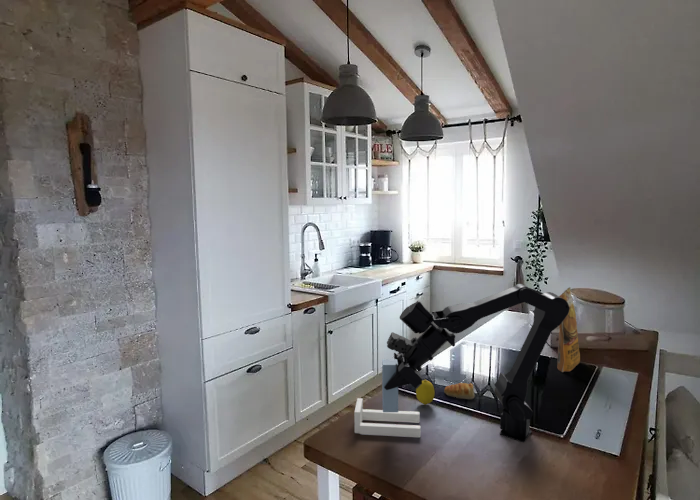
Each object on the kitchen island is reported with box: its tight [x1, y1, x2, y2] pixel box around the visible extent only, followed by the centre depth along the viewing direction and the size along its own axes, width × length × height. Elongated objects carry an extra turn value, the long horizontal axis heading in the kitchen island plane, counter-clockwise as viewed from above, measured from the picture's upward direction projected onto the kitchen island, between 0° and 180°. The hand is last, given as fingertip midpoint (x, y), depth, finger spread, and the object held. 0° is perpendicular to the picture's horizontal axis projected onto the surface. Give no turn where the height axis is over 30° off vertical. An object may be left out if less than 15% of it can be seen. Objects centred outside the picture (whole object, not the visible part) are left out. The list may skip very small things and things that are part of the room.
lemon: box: [415, 379, 436, 406], centre depth 135 cm, size 6×6×8 cm
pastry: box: [443, 382, 475, 400], centre depth 142 cm, size 9×7×4 cm
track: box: [353, 397, 422, 438], centre depth 123 cm, size 18×9×6 cm, turn 83°
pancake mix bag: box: [556, 286, 581, 373], centre depth 163 cm, size 7×19×28 cm, turn 137°
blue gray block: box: [381, 358, 399, 412], centre depth 119 cm, size 4×4×13 cm
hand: (385, 385), depth 119 cm, fingers closed on blue gray block, 4 cm apart
